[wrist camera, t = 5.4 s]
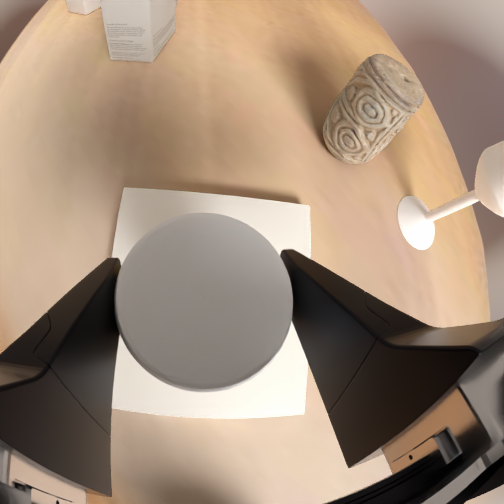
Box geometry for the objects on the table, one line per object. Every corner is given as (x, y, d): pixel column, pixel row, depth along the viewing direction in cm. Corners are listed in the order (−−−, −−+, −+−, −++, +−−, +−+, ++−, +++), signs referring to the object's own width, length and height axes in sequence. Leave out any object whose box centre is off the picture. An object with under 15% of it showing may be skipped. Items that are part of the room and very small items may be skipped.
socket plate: (297, 408, 21) (304, 413, 20) (113, 402, 18) (108, 407, 17) (303, 211, 25) (309, 205, 24) (127, 194, 22) (123, 187, 21)
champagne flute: (410, 257, 27) (605, 185, 4) (389, 200, 28) (563, 89, 5) (440, 241, 29) (599, 177, 6) (422, 191, 30) (568, 103, 7)
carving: (354, 120, 30) (408, 57, 18) (373, 173, 28) (444, 117, 17) (308, 114, 28) (357, 38, 17) (325, 171, 27) (393, 101, 15)
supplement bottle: (135, 319, 15) (43, 327, 5) (187, 240, 16) (175, 139, 6) (217, 372, 15) (247, 459, 5) (267, 292, 16) (363, 262, 7)
